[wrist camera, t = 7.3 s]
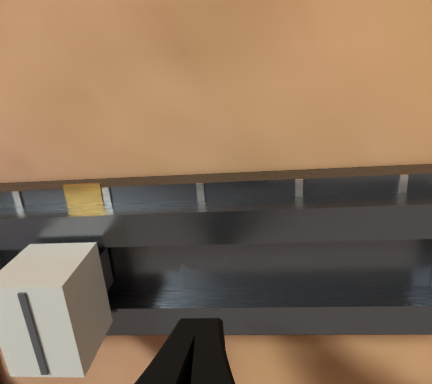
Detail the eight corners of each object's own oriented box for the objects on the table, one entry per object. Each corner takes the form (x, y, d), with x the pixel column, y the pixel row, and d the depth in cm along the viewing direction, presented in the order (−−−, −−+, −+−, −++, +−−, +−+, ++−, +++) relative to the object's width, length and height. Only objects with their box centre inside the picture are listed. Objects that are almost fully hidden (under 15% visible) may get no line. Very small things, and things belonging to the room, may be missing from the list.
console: (433, 311, 18) (461, 351, 16) (20, 314, 20) (-11, 350, 18) (456, 158, 16) (494, 178, 13) (-21, 179, 18) (-64, 200, 15)
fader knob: (123, 299, 18) (83, 379, 13) (65, 300, 18) (8, 378, 14) (109, 225, 16) (60, 288, 12) (48, 227, 17) (-22, 289, 12)
